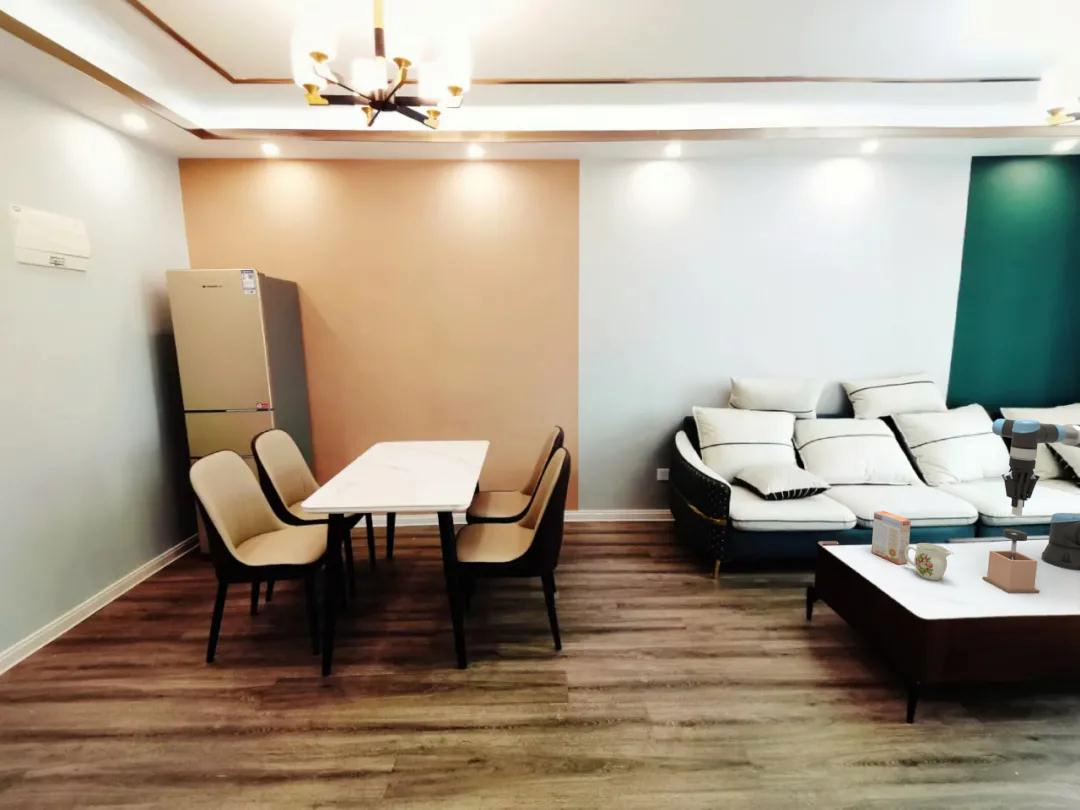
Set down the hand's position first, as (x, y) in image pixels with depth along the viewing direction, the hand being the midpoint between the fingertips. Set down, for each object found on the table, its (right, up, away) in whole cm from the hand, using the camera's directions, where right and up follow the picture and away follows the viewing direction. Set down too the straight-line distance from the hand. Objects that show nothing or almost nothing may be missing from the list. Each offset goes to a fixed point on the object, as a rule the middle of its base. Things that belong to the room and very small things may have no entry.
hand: (1016, 514), depth 197 cm
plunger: (+1, -22, +3) cm, 23 cm away
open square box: (+1, -30, +4) cm, 31 cm away
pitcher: (-26, -30, +14) cm, 42 cm away
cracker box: (-29, -28, +32) cm, 51 cm away
